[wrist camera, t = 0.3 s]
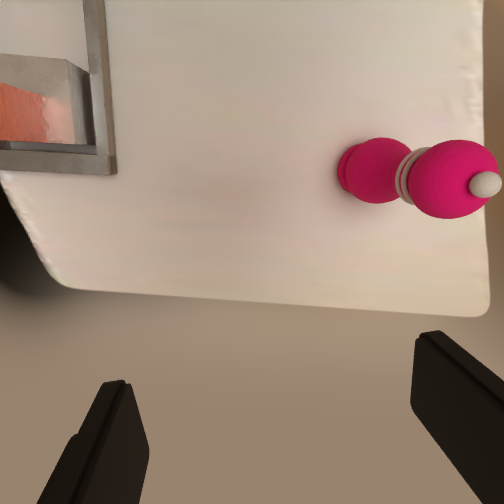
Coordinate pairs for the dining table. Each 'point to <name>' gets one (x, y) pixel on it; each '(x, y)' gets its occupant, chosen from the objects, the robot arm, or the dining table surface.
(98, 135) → the press frame
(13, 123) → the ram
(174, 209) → the dining table surface
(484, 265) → the dining table surface
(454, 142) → the pepper mill
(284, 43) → the dining table surface
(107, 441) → the robot arm
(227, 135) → the dining table surface
